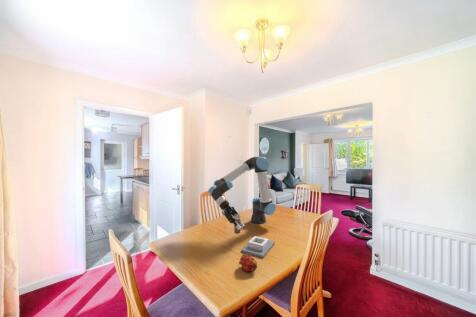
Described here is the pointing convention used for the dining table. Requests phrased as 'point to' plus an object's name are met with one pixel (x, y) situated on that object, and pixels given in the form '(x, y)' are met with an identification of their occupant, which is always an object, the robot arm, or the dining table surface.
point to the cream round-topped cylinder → (237, 218)
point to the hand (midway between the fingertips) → (241, 227)
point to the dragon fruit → (248, 263)
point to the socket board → (258, 252)
